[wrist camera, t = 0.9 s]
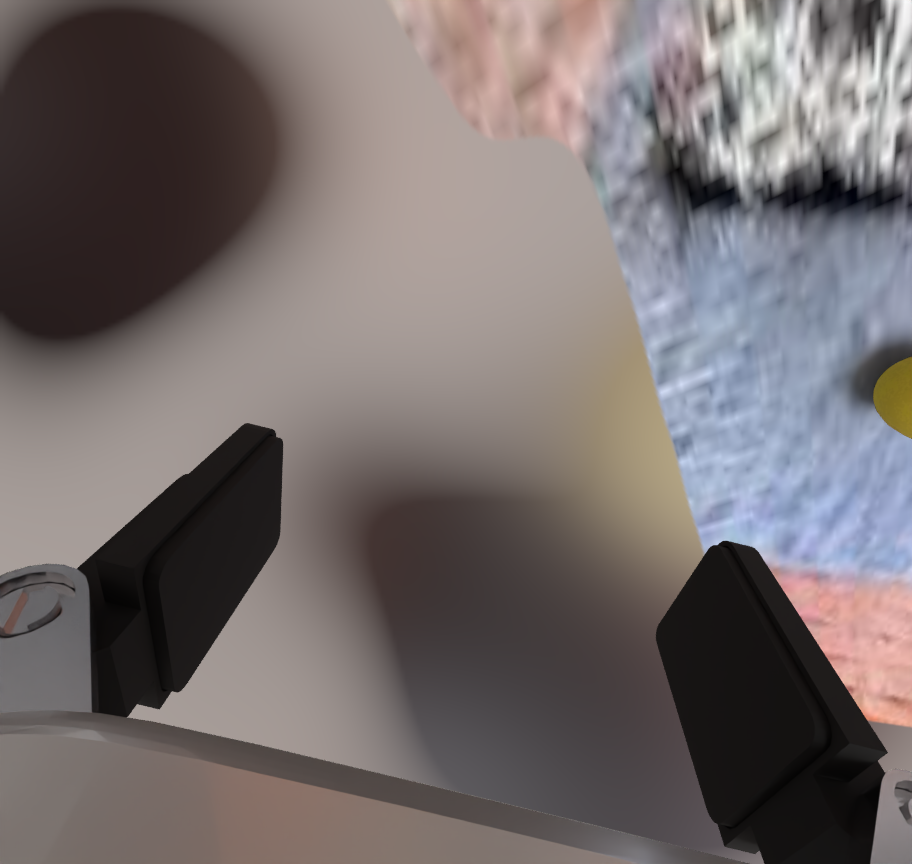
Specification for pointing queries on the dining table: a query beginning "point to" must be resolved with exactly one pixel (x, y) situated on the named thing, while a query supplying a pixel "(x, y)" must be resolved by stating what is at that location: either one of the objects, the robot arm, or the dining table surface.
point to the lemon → (896, 396)
